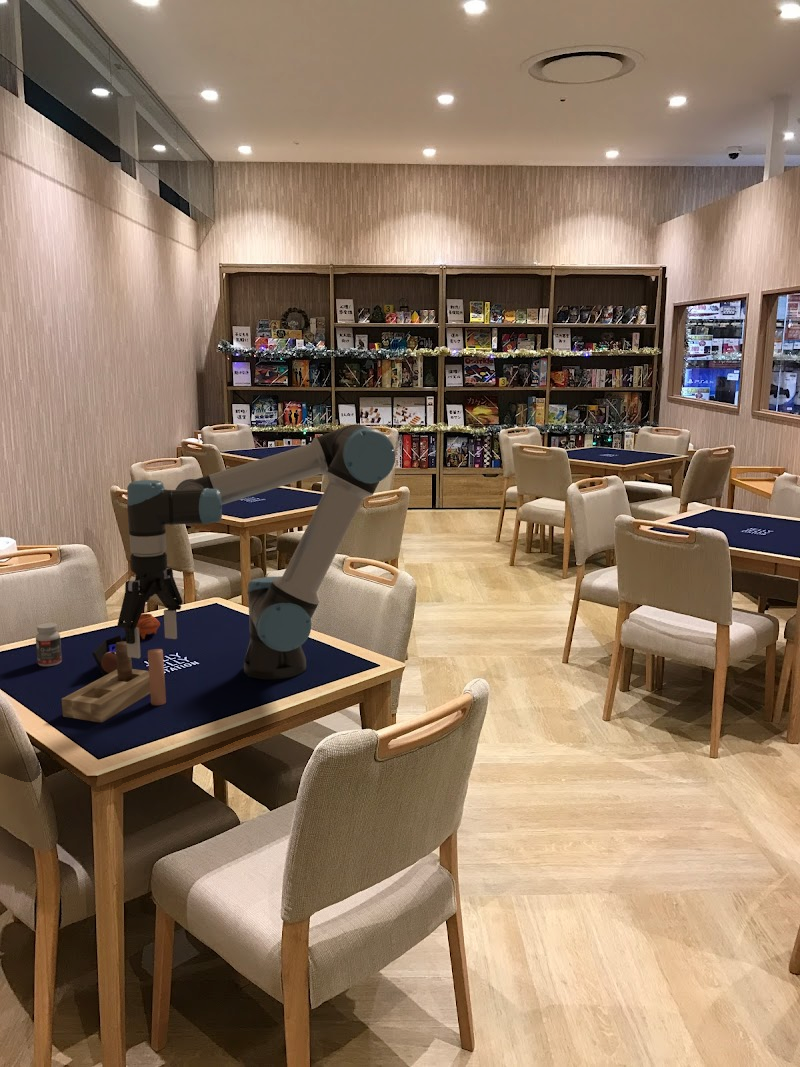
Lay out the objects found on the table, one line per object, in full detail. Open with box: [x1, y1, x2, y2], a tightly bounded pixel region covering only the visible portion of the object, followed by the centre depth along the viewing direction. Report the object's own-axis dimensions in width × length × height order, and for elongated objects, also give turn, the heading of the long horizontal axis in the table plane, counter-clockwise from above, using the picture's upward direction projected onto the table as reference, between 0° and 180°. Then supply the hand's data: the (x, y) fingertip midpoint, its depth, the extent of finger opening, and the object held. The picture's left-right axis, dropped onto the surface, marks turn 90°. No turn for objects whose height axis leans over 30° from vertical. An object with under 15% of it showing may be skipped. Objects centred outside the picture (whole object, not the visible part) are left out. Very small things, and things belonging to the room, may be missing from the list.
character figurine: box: [91, 634, 124, 677], centre depth 210 cm, size 8×7×15 cm
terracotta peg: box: [147, 648, 167, 706], centre depth 189 cm, size 3×3×12 cm
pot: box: [136, 613, 161, 640], centre depth 236 cm, size 8×8×7 cm
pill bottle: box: [35, 622, 63, 667], centre depth 215 cm, size 6×6×10 cm
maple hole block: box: [61, 668, 151, 723], centre depth 190 cm, size 10×20×4 cm, turn 161°
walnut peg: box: [115, 640, 133, 682], centre depth 194 cm, size 3×3×12 cm
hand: (153, 647), depth 188 cm, fingers open, 13 cm apart
